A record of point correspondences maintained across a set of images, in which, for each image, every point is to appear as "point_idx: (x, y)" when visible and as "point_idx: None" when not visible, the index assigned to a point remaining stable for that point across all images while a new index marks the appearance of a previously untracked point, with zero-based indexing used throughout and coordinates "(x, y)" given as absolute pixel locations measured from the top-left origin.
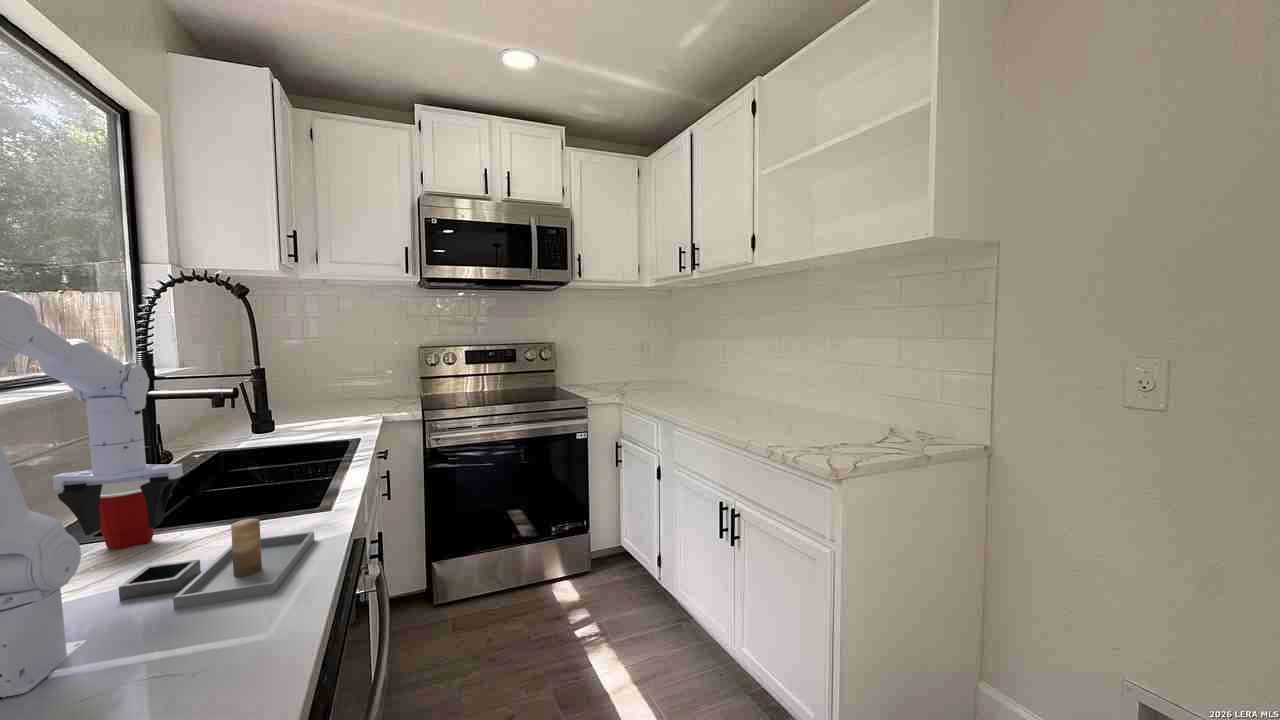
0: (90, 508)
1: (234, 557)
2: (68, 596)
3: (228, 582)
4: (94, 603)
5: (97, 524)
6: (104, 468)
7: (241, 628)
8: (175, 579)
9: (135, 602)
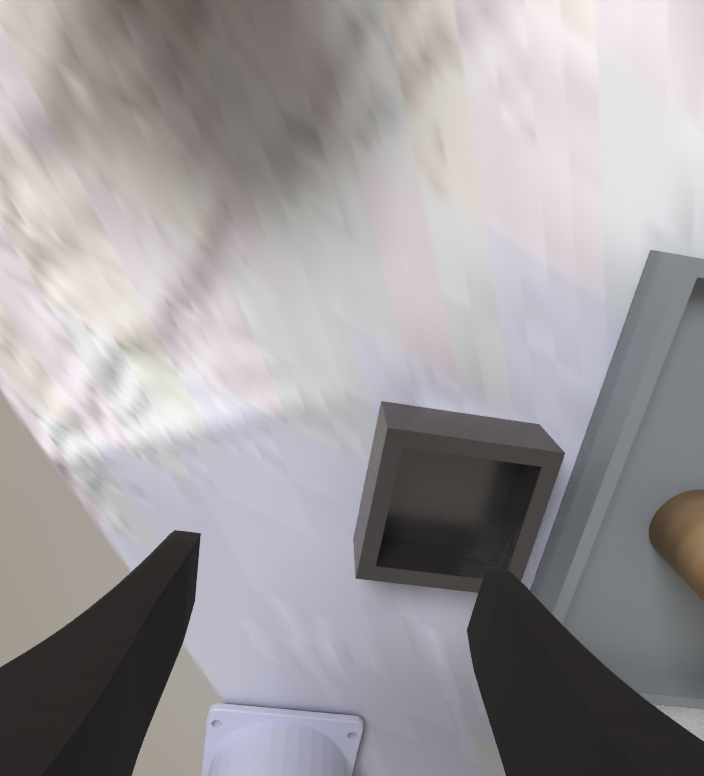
0: (134, 722)
1: (700, 597)
2: (156, 394)
3: (634, 579)
4: (273, 494)
5: (189, 579)
6: None
7: None
8: None
9: None
